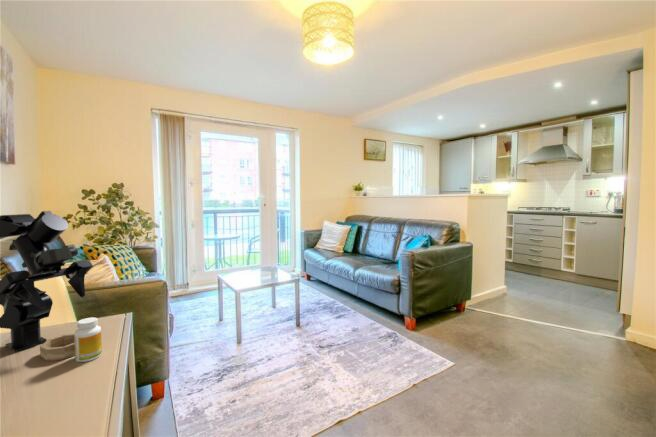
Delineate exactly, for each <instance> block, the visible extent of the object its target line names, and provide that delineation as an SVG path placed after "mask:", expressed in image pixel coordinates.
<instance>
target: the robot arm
mask: <svg viewBox="0 0 656 437" xmlns="http://www.w3.org/2000/svg"><path fill="white" fill-rule="evenodd" d="M68 227H69V223H68V221H67V220H66V219H65V218H63V217H61V216H60V215H57V214H55V213H53V212H52V211H51V210H43V211H41V212H40V213H39V215H38V216H37V217H36V218H35V217H34V216H33V215H31V214H30V213H19V214H2V215H0V240H2V239H5V238H9V237H10V238H12V237H17V238H16V239H13V240H12V241H11V244H10V245H9V248H8V250H9V251H17V252H18V254H19V255H20V258H21V259H22V261H23V263H22V264H21V266H22V268H27V269H28V270H25V269H24V270H18V271H12V272H6V273H5V275H3V277H2V278H1V279H0V306H2V307H3V314H2V315H1V316H0V329H5V330H6V329H7V330H10V342H8V343H6V344H5V347H6V348H8V349H10V350H12V351H14V352H19V351H21V350H25V349H28V348H31V347H34V346H37V345H39V344H43V343H45V342H46V341H47V340H48V339H46V338H44V337H42V335H41V320H43V319H45V318H49V317H50V314H51V310H52V307H53V299H52V297H51V296H50V295H48V294H47V291H44V290H41V289H39V288H38V287H35V282H38V281H39V282H40V281H44V280H48V279H53V278H58V277H64V276H65V277H66V279H68V281H67V282H68V284H69V285H70V286H71V288H72V289H73V290H74V292H75V293H76V294H77V295H78V296H79V297H80V298H84V297H85V296H86V288H85V278H86V277H85V276H86V275H87V274H88V273H89V271H90V270H91V269H92V268H93V267H94V264H92V262H91V261H90V260H89V259H82V260H77V261H72V263H71V264H70V265H69V266H68V267H64V266H65V265H66V261H68V260H73V259H74V258H73V257H76V256H78V254H79V251H78V248H77V247H76V246H75V244H73V243H72V244H66V245H65V246H63V247H62V248H61V247H60V248H53V249H51V248H50V246H49V245H48V244H50V243H52V242H54V241H55V240H56V239H58V238H59V237H60V236H61V235H62V234H63V233H64V232H65V231H66V230H67V229H68ZM62 267H64V268H62Z"/></svg>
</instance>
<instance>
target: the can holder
mask: <svg viewBox="0 0 656 437" xmlns="http://www.w3.org/2000/svg"><path fill="white" fill-rule="evenodd" d="M39 357H41V358H42V360H43V361H46V362H55V361H57V362H58V361H63V360H66V359H70V358H72V357H75V342H74V333H68V334H62V335H59V336H55V337H53V338H50V339H47V341H46V342H43V343H41V345H40V346H39Z"/></svg>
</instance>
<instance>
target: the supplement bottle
mask: <svg viewBox="0 0 656 437" xmlns="http://www.w3.org/2000/svg"><path fill="white" fill-rule="evenodd" d="M98 320H99V319H98V318H97V317H93V316H92V317H87V318H86V317H85V318H82V319H79V320H78V321H77V326H76V327H77V329H76V330H75V332H74V333H73V334H74V342H75V356H74V360H75V361H76V362H78V363H86V362H90V361H93V360H96V359H97V358H99V357H101V355H102V352H103V346H102V327H101V326H100V325H98Z"/></svg>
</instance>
